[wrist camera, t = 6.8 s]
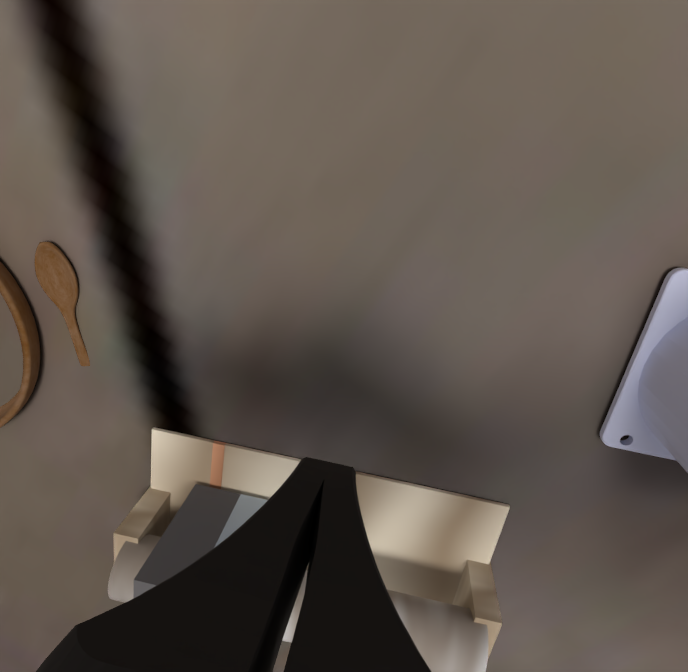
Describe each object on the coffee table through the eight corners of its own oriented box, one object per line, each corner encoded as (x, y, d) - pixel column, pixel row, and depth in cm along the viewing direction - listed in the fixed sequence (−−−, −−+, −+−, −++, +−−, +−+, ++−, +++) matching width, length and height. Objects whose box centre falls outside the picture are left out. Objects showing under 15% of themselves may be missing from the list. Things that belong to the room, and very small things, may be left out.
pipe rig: (511, 505, 23) (536, 594, 19) (455, 657, 27) (464, 762, 23) (152, 426, 24) (90, 492, 20) (148, 584, 29) (97, 670, 24)
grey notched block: (240, 494, 25) (183, 609, 18) (231, 579, 27) (178, 708, 21) (195, 483, 25) (123, 594, 19) (190, 570, 27) (124, 694, 21)
